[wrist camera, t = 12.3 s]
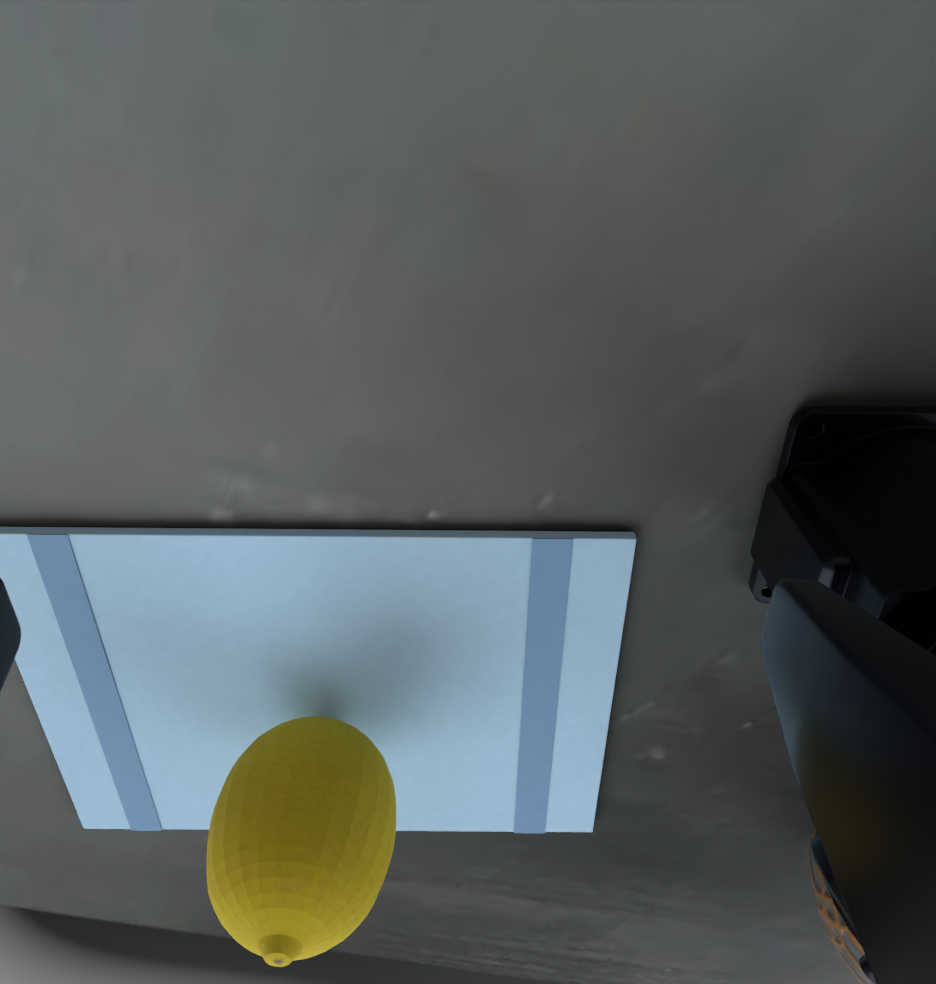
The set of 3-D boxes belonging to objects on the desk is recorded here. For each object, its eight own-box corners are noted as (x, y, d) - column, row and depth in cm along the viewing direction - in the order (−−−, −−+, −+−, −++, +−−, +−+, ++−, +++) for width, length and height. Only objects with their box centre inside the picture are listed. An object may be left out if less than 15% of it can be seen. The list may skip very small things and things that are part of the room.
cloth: (634, 531, 23) (637, 539, 22) (591, 823, 30) (593, 833, 30) (-30, 525, 23) (-38, 533, 22) (87, 820, 30) (82, 830, 29)
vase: (753, 801, 29) (851, 1065, 22) (926, 722, 27) (1103, 987, 19) (831, 882, 32) (943, 1142, 24) (994, 817, 30) (1173, 1081, 22)
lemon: (342, 795, 28) (301, 1035, 22) (216, 727, 27) (128, 966, 20) (438, 719, 26) (427, 959, 19) (309, 639, 24) (246, 872, 18)
